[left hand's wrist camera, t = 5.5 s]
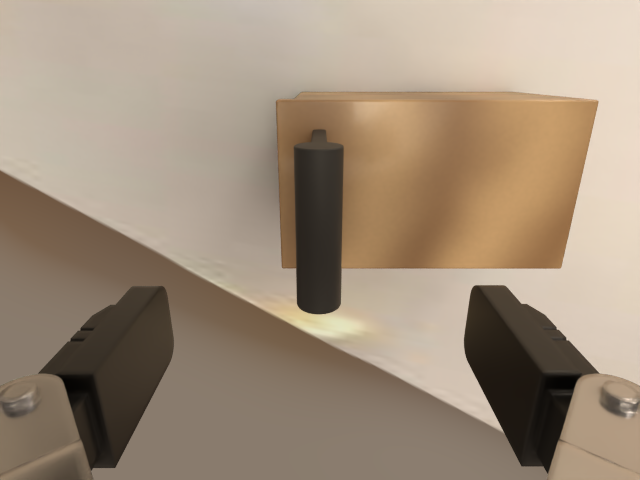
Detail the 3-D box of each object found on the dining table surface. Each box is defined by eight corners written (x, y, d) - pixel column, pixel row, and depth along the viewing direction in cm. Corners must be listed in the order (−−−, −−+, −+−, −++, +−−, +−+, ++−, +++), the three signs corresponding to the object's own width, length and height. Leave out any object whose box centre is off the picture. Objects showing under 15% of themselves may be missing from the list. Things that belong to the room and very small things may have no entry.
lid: (283, 260, 26) (267, 341, 18) (277, 98, 23) (255, 112, 15) (551, 260, 26) (650, 341, 18) (586, 98, 23) (726, 112, 15)
